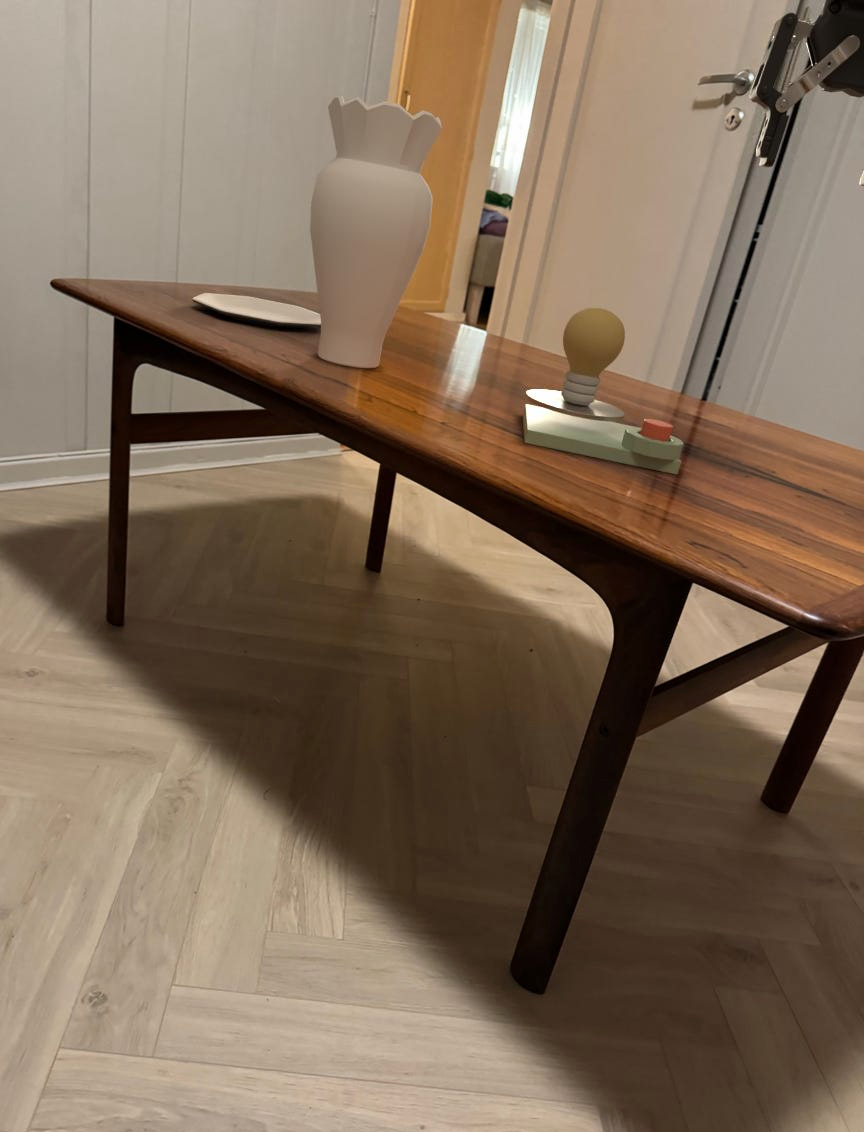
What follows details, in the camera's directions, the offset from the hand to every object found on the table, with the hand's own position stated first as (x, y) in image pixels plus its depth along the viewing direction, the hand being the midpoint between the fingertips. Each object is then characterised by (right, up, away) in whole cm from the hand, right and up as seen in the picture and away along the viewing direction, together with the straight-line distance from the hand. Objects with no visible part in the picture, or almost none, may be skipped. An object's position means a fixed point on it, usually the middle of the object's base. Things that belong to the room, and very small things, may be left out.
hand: (816, 176), depth 76 cm
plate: (-55, +10, +61) cm, 83 cm away
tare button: (-8, -18, +18) cm, 27 cm away
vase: (-41, -3, +42) cm, 59 cm away
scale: (-13, -17, +23) cm, 32 cm away
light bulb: (-15, -13, +24) cm, 31 cm away
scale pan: (-15, -13, +24) cm, 31 cm away
